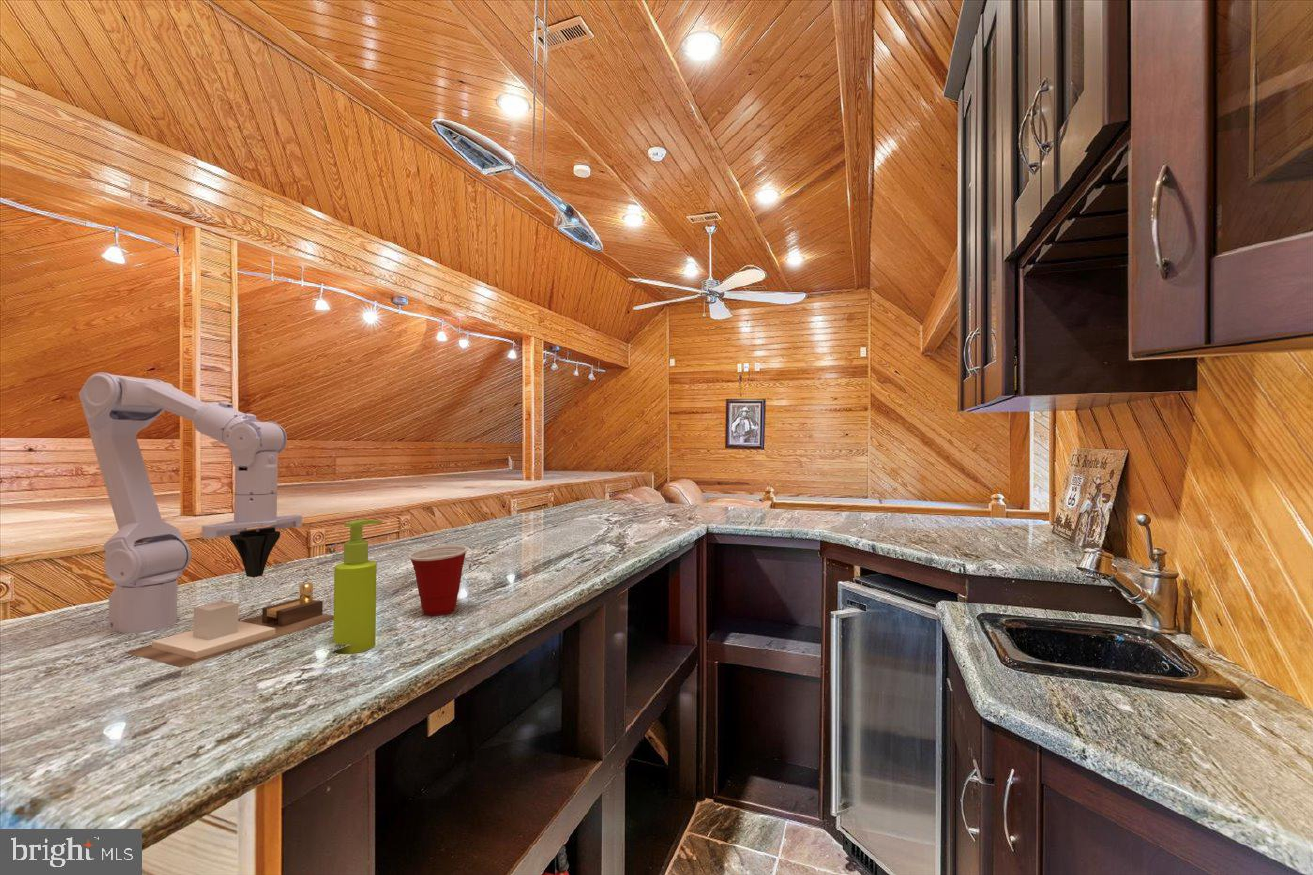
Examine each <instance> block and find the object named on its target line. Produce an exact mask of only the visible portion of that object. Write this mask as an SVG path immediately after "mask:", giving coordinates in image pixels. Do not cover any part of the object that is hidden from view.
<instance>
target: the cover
mask: <svg viewBox="0 0 1313 875" xmlns="http://www.w3.org/2000/svg"><path fill="white" fill-rule="evenodd" d="M239 605H240V604H239V603H237V602H231V601H226V600H219V601H215V602H212V603H211V602H210V603H207V604H202V605H199V606H193V619H192V620H193V622H192V624H193V629H192V630H188V631H185V632H182V633H178V634H174V635H170V636H167V637H163V638H158V639H155V640H154V639H153V640H152V641H151V645H152V648H154V649H158V650H162V651H166V652H170V653H174V654H178V655H182V656H186V657H189V658H193V659H198V658H201V657H204V656H207V655H211V654H214V653H217V652H220V651H224V650H227V649H230V648H233V647H237V646H240V645H243V644H246V643H250V642H253V641H256V640H259V639H263V638H266V637H269V636H272V635H275V628H271V627H266V626H261V625H256V624H251V623H246V622H241V621H242V620H239Z"/></svg>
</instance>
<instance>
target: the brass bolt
mask: <svg viewBox="0 0 1313 875" xmlns="http://www.w3.org/2000/svg"><path fill="white" fill-rule="evenodd" d="M299 598H300V601H297V602H293V603H289V604H285V605H281V606H278V607H274V608H270V609H267V616H268V617H273V618H278V611H280V610H283V609H287V608H291V607H295V606H298V605H302V604H306V603H309V602H313V601H317V600H316V599H314V583H313V582H305V583H301V584H299Z"/></svg>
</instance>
